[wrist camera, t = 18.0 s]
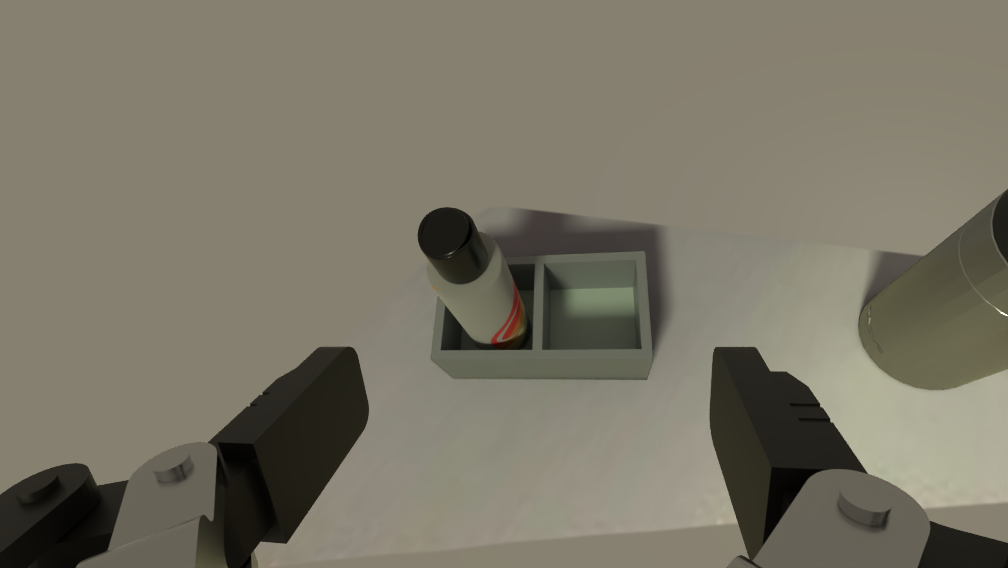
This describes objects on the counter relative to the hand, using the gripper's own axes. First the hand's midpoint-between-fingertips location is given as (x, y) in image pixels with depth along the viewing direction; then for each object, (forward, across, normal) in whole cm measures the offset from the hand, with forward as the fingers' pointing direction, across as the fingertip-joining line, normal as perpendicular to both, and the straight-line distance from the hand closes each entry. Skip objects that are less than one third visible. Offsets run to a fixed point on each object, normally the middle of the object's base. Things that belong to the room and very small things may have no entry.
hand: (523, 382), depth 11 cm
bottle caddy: (+35, +4, +16) cm, 39 cm away
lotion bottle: (+34, +8, +16) cm, 38 cm away
